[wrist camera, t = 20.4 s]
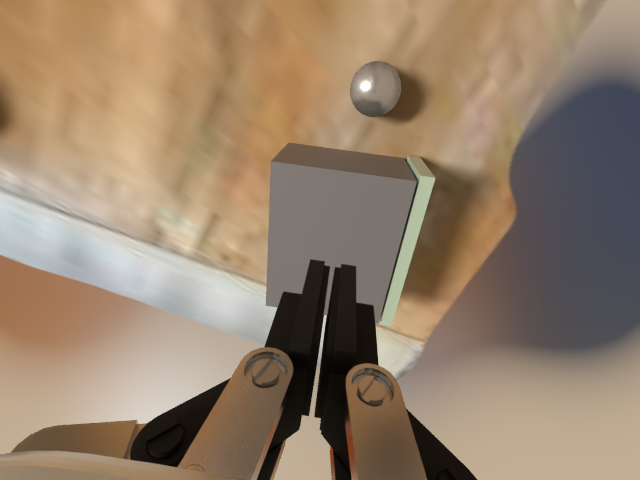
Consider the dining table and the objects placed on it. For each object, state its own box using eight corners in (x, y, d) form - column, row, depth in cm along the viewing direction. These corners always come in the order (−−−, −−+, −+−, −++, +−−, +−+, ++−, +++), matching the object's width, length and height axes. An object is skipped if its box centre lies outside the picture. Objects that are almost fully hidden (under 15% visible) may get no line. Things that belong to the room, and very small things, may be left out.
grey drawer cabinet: (404, 158, 37) (416, 181, 29) (374, 280, 46) (378, 323, 38) (288, 142, 38) (271, 161, 30) (281, 266, 46) (266, 305, 38)
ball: (354, 59, 33) (354, 58, 30) (402, 65, 33) (406, 64, 30) (347, 110, 35) (346, 113, 32) (391, 115, 35) (394, 119, 32)
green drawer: (419, 156, 37) (435, 177, 29) (385, 285, 46) (391, 326, 38) (304, 141, 37) (291, 157, 30) (293, 271, 46) (281, 309, 39)
